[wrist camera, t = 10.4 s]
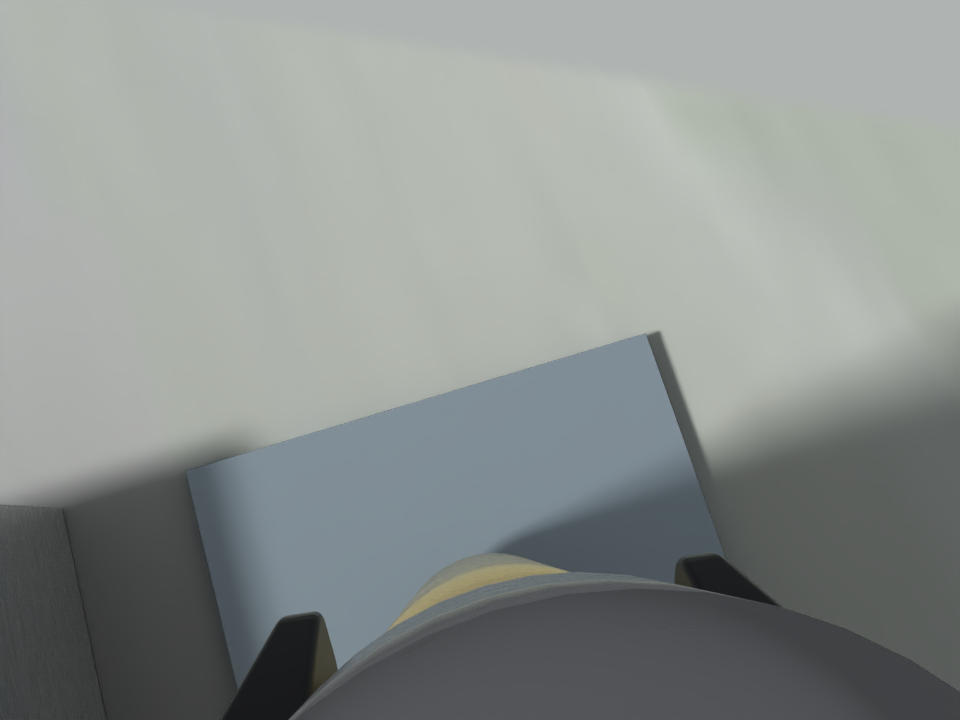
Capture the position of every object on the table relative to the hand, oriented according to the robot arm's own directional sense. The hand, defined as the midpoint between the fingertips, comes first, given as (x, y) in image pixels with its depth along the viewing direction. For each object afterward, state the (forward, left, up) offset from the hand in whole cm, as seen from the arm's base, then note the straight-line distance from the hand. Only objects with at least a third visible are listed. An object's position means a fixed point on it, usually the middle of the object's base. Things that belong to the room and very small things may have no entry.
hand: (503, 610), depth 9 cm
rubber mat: (-1, -1, -9) cm, 9 cm away
